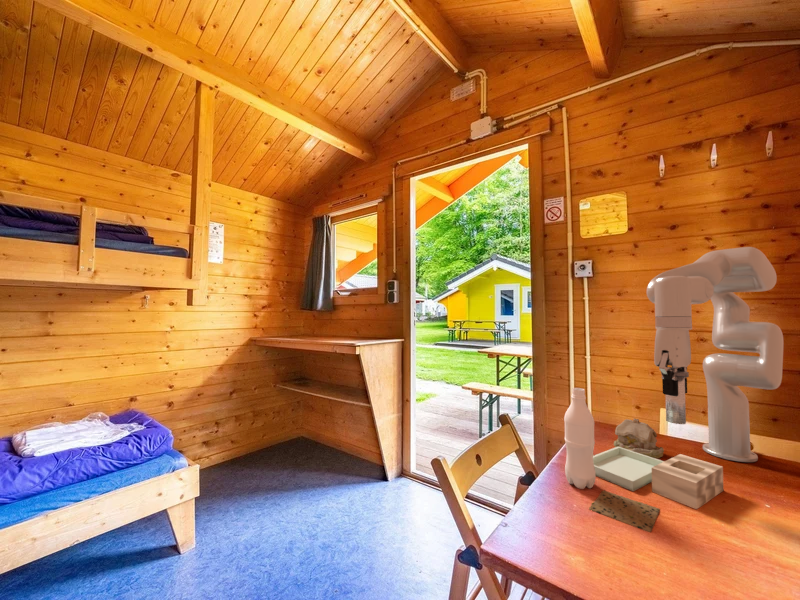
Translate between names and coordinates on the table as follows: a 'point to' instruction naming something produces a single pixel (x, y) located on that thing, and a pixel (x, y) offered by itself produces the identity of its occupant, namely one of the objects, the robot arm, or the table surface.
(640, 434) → the ceramic model
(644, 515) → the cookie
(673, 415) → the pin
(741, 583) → the table surface
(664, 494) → the block
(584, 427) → the water bottle
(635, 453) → the tray
